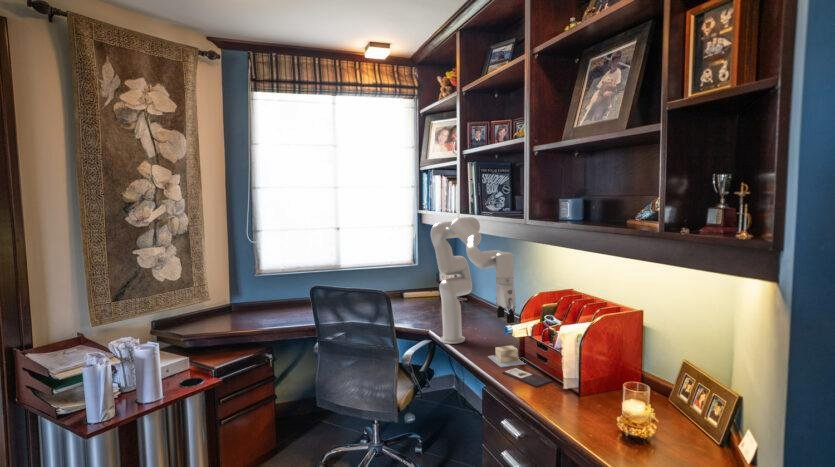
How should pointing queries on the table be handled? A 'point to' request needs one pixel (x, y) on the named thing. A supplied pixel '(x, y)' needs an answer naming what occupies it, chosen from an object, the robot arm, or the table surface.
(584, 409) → the table surface
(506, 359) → the maple block
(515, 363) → the desk mat
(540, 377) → the chocolate bar
